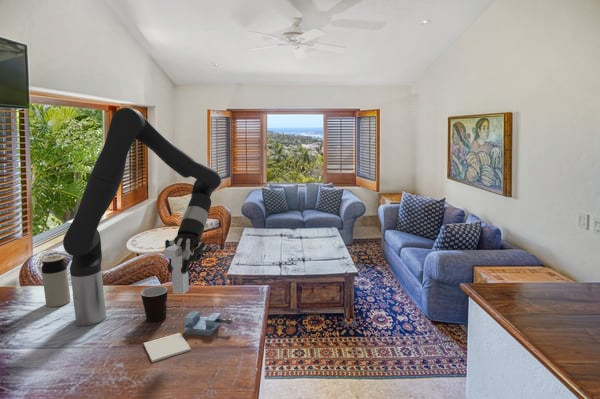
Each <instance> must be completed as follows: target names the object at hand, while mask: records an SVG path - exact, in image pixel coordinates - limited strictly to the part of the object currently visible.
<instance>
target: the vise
mask: <svg viewBox="0 0 600 399" xmlns="http://www.w3.org/2000/svg"><path fill="white" fill-rule="evenodd" d="M221 316H222V315H221V313H220V312H211V313H210V314H209V315H208V316H201V312H200V311H197V310H190V311H189V313H188V314H186V315H185V316H184V318H183V322H184V334H187V335H188V334H191V335H199V336H206V337H207V336H209V337H212V335H213V334H214V333H215V332H216V330H218V328H219V327H220V326H221V324H227V325H232V324H233V320H232V318H228V319H224V318H221Z"/></svg>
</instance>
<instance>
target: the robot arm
mask: <svg viewBox="0 0 600 399" xmlns="http://www.w3.org/2000/svg"><path fill="white" fill-rule="evenodd" d="M135 140H136V141H139V143H142V144H143V145H144V146H146V147H147V148H148V149H149V150H151V151H152V153H154V154H155V155H156V156H157V157H158V158H159V159H160V160H161V161H162V162H163V163H165V164H166V165H167V166H168V167H169V168H171V170H173V171H174V172H175V173H177V174H178V175H180V176H181V177H183V178H185V179H189V178H191V177H192V178H194V179H196V180H195V181H194V183H193V186H192V190H191V196H190V199H189V202H188V205H187V207H186V210H185V211H184V214H183V217H182V218H181V221H180V224H179V227H178V230H177V233H176V236H175V237H174V239H172V240H169V239H166V240H165V241H164V249H166V248H167V247H169V246H174V245H175V246H179V247H181V249H185V250H187V251H186V258H185V259H186V260H184V263H183V266H182V268H181V273H182V274H186V272H188V273H189V270H190V266H191V264H192V263H193V262H194V263H197V262H198V261H200V258H201V257H202V256H203V255H204V253H205V252H206V250H207V249H208V246H207V244H206V243H205V242H202V241H201V239H202V237H203V234H204V230H205V227H206V225H207V221H208V217H209V213H210V210H211V206H212V199H211V196H212V194H213V193H214V192H215V191H216V190H218V188H219V187H220V186H221V184H222V178H221V176H220V174H219V173H218V172H217V171H216V170H215V169H214V168H212V167H210V166H207V165H206V164H203V163H202V162H199V161H197V160H195V159H194V158H192V157H191V156H190V155H189V154H188V153H186V152H185V151H184V150H183V149H182V148H180V147H178V146H177V145H176V144H174V143H173V142H172V141H171V140H169V139H168V138H166V137H165V136H164V135H163V134H161V133H160V132H159V131H158V130H157V128H155V127H154V126H153V125H152V124H151V123H150V122H149V121H148V120H147V118H146V117H145V116H144V115H143V114H142V113H141V111H139V110H138V109H136V108H131V107H121V108H119V109H117V110H116V111H115V112H114V113H113V114H112V117H111V119H110V124H109V128H108V131H107V135H106V138H105V142H104V145H103V147H102V149H101V151H100V152H99V154H98V156H97V159H96V161H95V163H94V165H93V168H92V170H91V173H90V175H89V177H88V180H87V182H86V185H85V188H84V191H83V194H82V197H81V199H80V202H79V205H78V209H77V211H76V213H75V216H74V217H73V219H72V222H71V224H70V225H69V227H68V229H67V231H66V232H65V234H64V236H63V241H62V245H63V246H62V247H63V249H64V251H65V252H66V254H68V255H70V256H71V257H72V258H71V263H70V266H69V273H70V280H71V288H72V299H73V300H72V301H73V308H74V310H73V311H74V316H75V322H76V327H79V326H91V325H96V324H98V323H101V322H102V321H103V320H105V319H106V318H107V313H106V312H107V311H106V310H107V309H106V301H105V293H104V282H103V281H104V280H103V275H102V274H103V273H102V261H103V253H102V252H103V250H102V239H101V234H100V231H99V230H98V227H99V225H100V222H101V220H102V218H103V217H104V215H105V214H106V212H107V210H108V209H109V207H110V206H111V205H112V202H113V200H114V199H115V197H116V195H117V193H118V191H119V188H120V186H121V183H122V181H123V177H124V174H125V169H126V163H127V157H128V155H129V152H130V149H131V147H132V145H133V143H134V141H135ZM168 260H169V262H168V265H167V266H166V267H167V271H168V272H169V273H170V274H172V266H171V259H168Z"/></svg>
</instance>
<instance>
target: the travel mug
mask: <svg viewBox="0 0 600 399" xmlns="http://www.w3.org/2000/svg"><path fill="white" fill-rule="evenodd" d="M65 257H66V256H65V255H64V254H52V255H51V254H50V255H47V256H43V257H42V258H41V259H40V261H41V262H42V266H41V268H40V270H41V274H42V277H41V278H42V284H43V292H44V300H45V306H46V307H50V308H57V307H62V306H65V305H66V304H67V305H68V303H70V302H71V300H72V299H71V292H70V290H71V289H70V285H69V276H68V267H67V263H66V262H65Z"/></svg>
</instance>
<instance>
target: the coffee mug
mask: <svg viewBox="0 0 600 399" xmlns="http://www.w3.org/2000/svg"><path fill="white" fill-rule="evenodd" d="M168 292H169V291H168V287H166V286H161V285H159V286H157V285H156V286H149V287H147V288H144V289H143V290H142V291H140V296H141V299H142V300H141V301H142V304H143V309H144V314H145V318H146V319H145V320H146V322H148V323H150V324H154V323H155V324H156V323H157V324H158V323H161V322H162V321H165V320H166V319H167V312H168V311H167V310H168V309H167V308H168Z"/></svg>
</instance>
